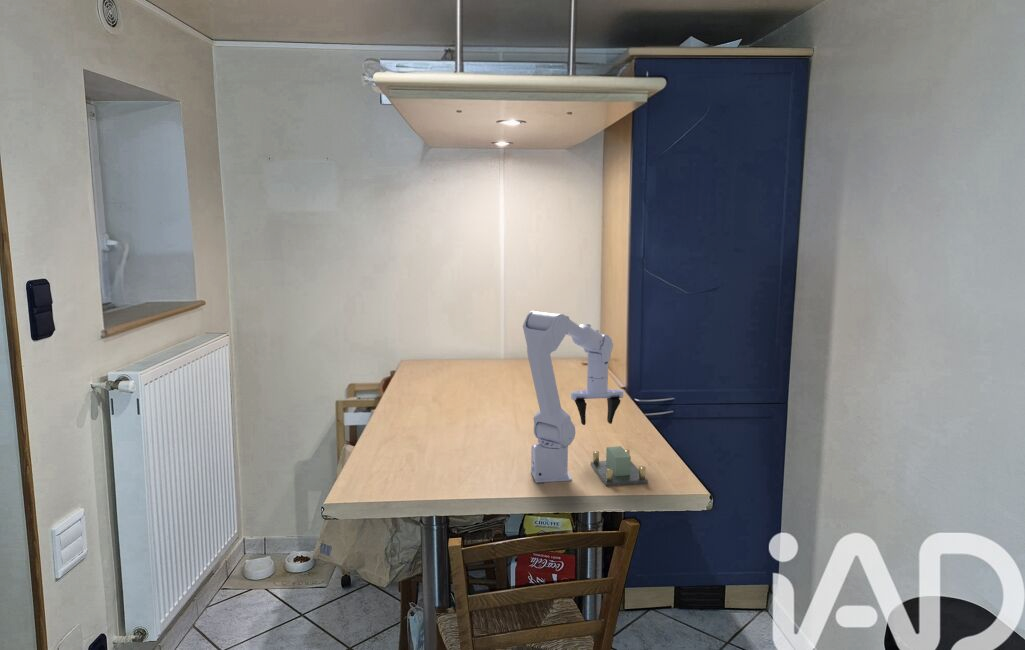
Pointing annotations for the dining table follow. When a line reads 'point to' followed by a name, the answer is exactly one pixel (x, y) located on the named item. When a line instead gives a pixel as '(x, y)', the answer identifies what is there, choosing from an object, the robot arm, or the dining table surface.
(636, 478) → the plate
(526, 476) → the dining table surface
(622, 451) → the board block
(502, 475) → the dining table surface
